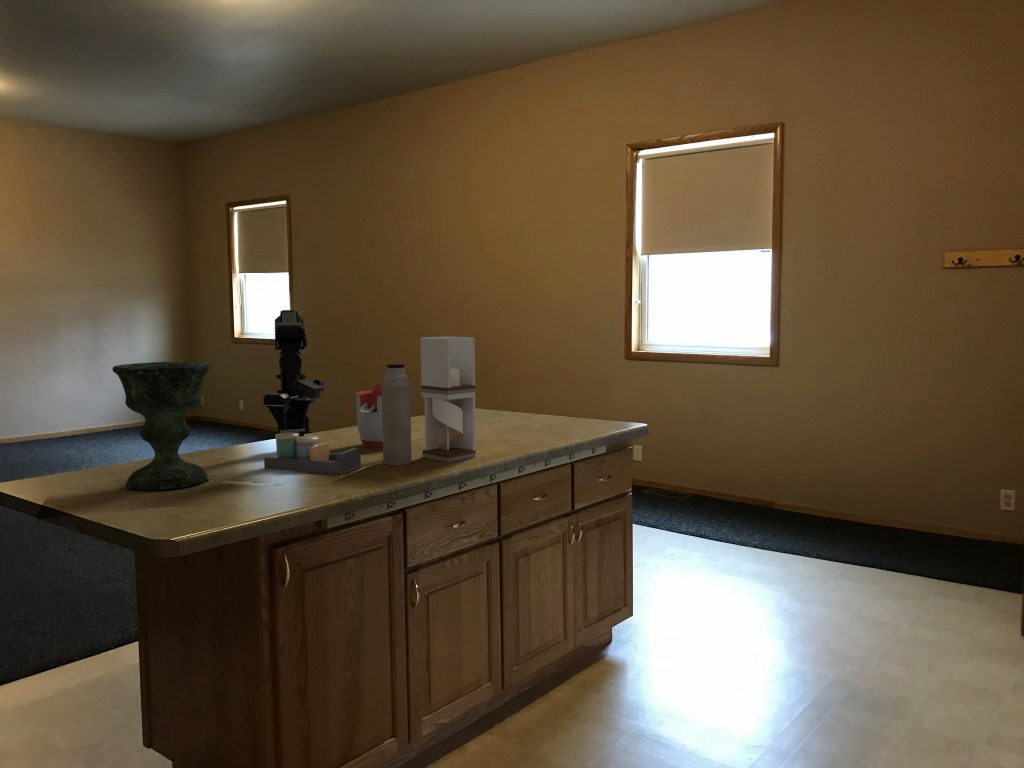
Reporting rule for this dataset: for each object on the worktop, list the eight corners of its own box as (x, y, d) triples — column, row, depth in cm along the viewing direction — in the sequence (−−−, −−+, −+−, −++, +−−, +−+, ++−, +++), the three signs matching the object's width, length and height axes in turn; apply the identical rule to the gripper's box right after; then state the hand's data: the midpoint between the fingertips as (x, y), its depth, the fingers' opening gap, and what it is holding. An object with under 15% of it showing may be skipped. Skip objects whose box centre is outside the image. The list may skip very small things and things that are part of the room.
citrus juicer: (343, 448, 256) (342, 384, 254) (373, 440, 272) (372, 379, 271) (387, 452, 251) (386, 386, 249) (415, 442, 267) (414, 381, 265)
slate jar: (291, 468, 222) (291, 439, 221) (304, 464, 228) (303, 435, 227) (312, 469, 220) (311, 440, 219) (324, 465, 226) (323, 436, 225)
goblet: (119, 478, 213) (114, 363, 210) (212, 471, 222) (208, 360, 219) (116, 497, 193) (109, 369, 190) (218, 488, 202) (213, 366, 199)
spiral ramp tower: (422, 457, 242) (420, 337, 239) (449, 452, 250) (447, 336, 246) (448, 462, 234) (447, 338, 231) (475, 456, 242) (474, 337, 239)
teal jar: (272, 465, 224) (270, 435, 223) (285, 460, 230) (283, 432, 229) (292, 465, 222) (290, 436, 221) (304, 461, 228) (303, 432, 227)
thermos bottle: (391, 459, 239) (389, 362, 236) (416, 460, 236) (414, 363, 233) (377, 464, 231) (376, 364, 229) (403, 466, 229) (402, 365, 226)
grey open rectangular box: (264, 471, 222) (263, 450, 221) (287, 464, 232) (286, 443, 232) (341, 476, 215) (340, 454, 214) (360, 468, 226) (360, 447, 225)
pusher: (310, 469, 219) (309, 447, 219) (325, 464, 227) (324, 442, 226) (314, 469, 219) (313, 447, 218) (329, 464, 227) (328, 442, 226)
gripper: (298, 374, 211) (300, 434, 213) (334, 368, 229) (335, 424, 231) (260, 373, 215) (262, 432, 216) (299, 367, 232) (300, 422, 234)
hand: (292, 427), depth 224 cm, fingers open, 9 cm apart
